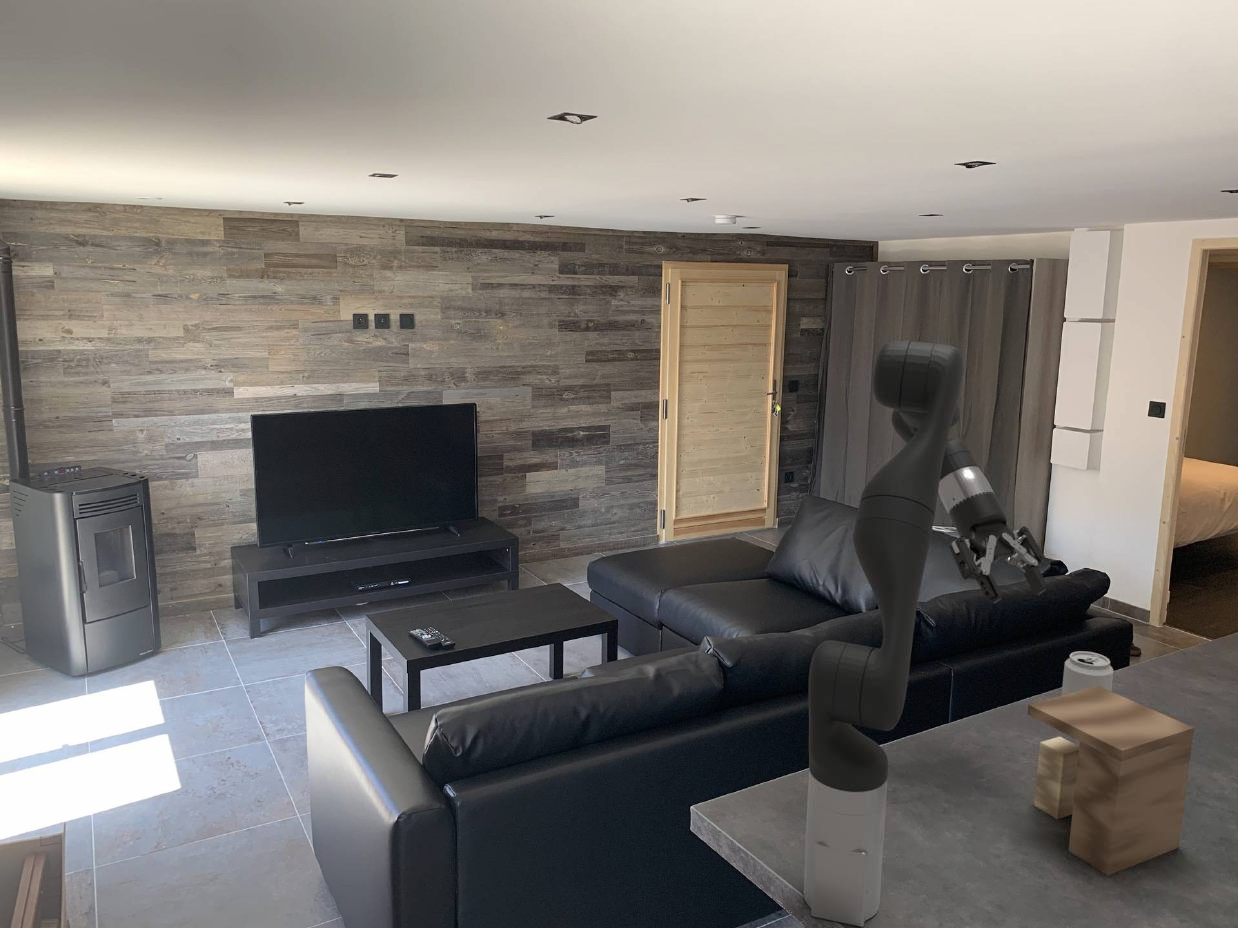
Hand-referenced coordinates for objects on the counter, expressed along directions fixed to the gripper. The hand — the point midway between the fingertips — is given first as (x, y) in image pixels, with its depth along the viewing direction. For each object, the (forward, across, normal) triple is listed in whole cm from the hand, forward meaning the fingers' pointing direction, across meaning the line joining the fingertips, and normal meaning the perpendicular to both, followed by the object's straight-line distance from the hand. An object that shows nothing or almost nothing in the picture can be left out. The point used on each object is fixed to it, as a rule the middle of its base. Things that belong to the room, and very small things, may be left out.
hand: (1019, 596), depth 144 cm
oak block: (+28, -1, +12) cm, 31 cm away
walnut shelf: (+33, 0, +7) cm, 34 cm away
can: (+16, +25, +26) cm, 40 cm away
